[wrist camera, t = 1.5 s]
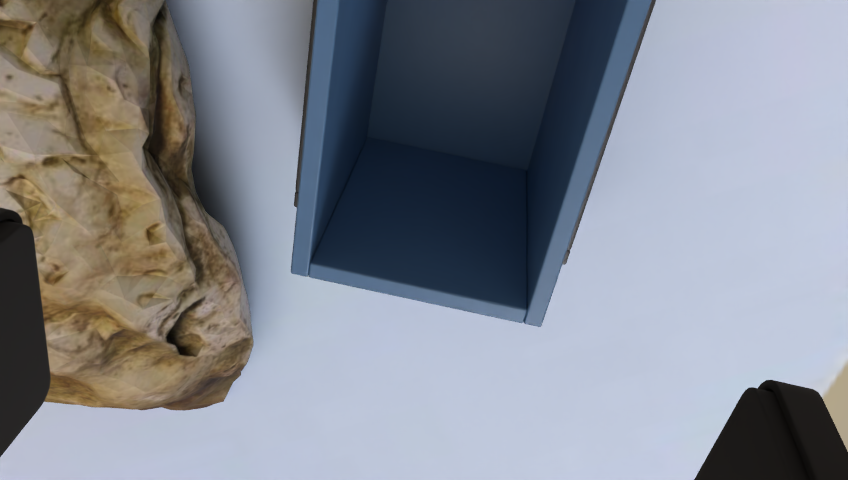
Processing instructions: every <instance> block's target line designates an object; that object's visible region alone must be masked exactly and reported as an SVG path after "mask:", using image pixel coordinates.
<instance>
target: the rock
mask: <svg viewBox="0 0 848 480" xmlns="http://www.w3.org/2000/svg"><path fill="white" fill-rule="evenodd" d="M195 121H196V114H195V108H194V102H193V96H192V87H191V78H190V70H189V65H188V62H187V59H186V56H185V54H184V51H183V48H182V46H181V43H180V40H179V37H178V35H177V32H176V29H175V26H174V23H173V20H172V18H171V15H170V12H169V9H168V6H167V4H166V0H0V208H5V209H9V210H13V211H15V212H17V213H18V214H19V215H20V217H21V218H22V221H23V224H24V225H27V226H29V227H30V228H31V229H32V231H33V235H34V242H35V250H36V258H37V267H38V275H39V283H40V292H41V300H42V308H43V317H44V325H45V333H46V342H47V350H48V358H49V367H50V375H51V382H50V388H49V391H48V394H47V396H46V398H45V402H54V403H63V404H78V405H84V406H89V407H110V408H125V409H139V410H147V409H153V408H159V407H163V408H167V409H170V410H191V409H198V408H204V407H208V406H210V405H212V404H215V403H219V402H223V401H224V399H225V397H226V395H227V393H228V391H229V389H230V387H231V385H232V383H233V382H234V381H235V380H236V379H237V378H238V377H239V376H240V375H241V371H242V369H243V368H244V366H245V365H246V364H247V362H248V359H249V356H250V353H251V350H252V347H253V336H252V328H251V319H250V310H249V304H248V297H247V293H246V290H245V287H244V284H243V280H242V274H241V269H240V266H239V262H238V259H237V256H236V253H235V250H234V247H233V245H232V242H231V240H230V238H229V236H228V234H227V232H226V230H225V228H224V227H223V226H222V225H221V224H220V223H219V222H217V221H216V220H215V219H214V218H212V217H211V216H210V215H209V214H208V213H206V211H205V209H204V207H203V206H202V204H201V202H200V200H199V198H198V196H197V194H196V190H195V185H194V180H193V174H192V169H191V167H192V160H193V153H194V143H195Z"/></svg>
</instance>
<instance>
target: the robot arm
mask: <svg viewBox="0 0 848 480" xmlns="http://www.w3.org/2000/svg"><path fill="white" fill-rule="evenodd" d="M50 382H51V375H50V367H49V358H48V350H47V342H46V333H45V325H44V317H43V308H42V300H41V292H40V283H39V275H38V267H37V258H36V250H35V242H34V235H33V231H32V229H31V228H30V227H29V226H27V225H24V224H23V221H22V218H21V217H20V215H19V214H18V213H17V212H15V211H13V210H9V209H5V208H0V457H1V455H2V454H3V453H4V452H5V450H6V449H7V448H8V447H9V445H10V444H11V443H12V442H13V440H14V439H15V438H16V437H17V435H18V434H19V433H20V432H21V430H22V429H23V428H24V427H25V425H26V424H27V423H28V422H29V420H30V419H31V418H32V417H33V415H34V414H35V413H36V412H37V410H38V409H39V408H40V407H41V405H42V404H43V402H44V401H45V398H46V396H47V394H48V391H49V388H50ZM694 480H848V452H847V449H846V447H845V445H844V443H843V441H842V439H841V437H840V435H839V433H838V431H837V429H836V427H835V424H834V422H833V420H832V418H831V416H830V414H829V412H828V410H827V408H826V405H825V404H824V401H823V399H822V397H821V396H820V395H819V393H818V392H817V391H815V390H813V389H809V388H805V387H800V386H796V385H791V384H787V383H782V382H778V381H773V380H766V381H765V382H763V383H762V384H761V385H760V386H759V387H758V389H757V388H748V389H747V390H745V392H744V393H743V394H742V396H741V398H740V400H739V401H738V403H737V405H736V407H735V409H734V410H733V412H732V414H731V416H730V417H729V419H728V421H727V423H726V424H725V426H724V428H723V430H722V432H721V433H720V435H719V437H718V439H717V440H716V442H715V444H714V446H713V448H712V449H711V451H710V453H709V455H708V456H707V458H706V460H705V462H704V463H703V465H702V467H701V469H700V471H699V472H698V474H697V476H696V478H695V479H694Z"/></svg>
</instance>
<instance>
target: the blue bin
mask: <svg viewBox="0 0 848 480" xmlns="http://www.w3.org/2000/svg"><path fill="white" fill-rule="evenodd" d="M651 1H652V0H317V8H316V18H315V29H314V39H313V49H312V59H311V70H310V80H309V90H308V100H307V110H306V121H305V131H304V141H303V151H302V162H301V172H300V182H299V192H298V203H297V213H296V223H295V233H294V244H293V254H292V264H291V273H292V274H297V275H301V276H308V275H309V277H311V278H315V279H320V280H324V281H329V282H334V283H338V284H343V285H348V286H352V287H357V288H362V289H366V290H371V291H375V292H380V293H385V294H389V295H394V296H399V297H403V298H408V299H413V300H417V301H422V302H426V303H431V304H436V305H440V306H445V307H450V308H454V309H459V310H464V311H468V312H473V313H477V314H482V315H487V316H491V317H496V318H501V319H505V320H510V321H515V322H519V323H523V321H524V323H525V324H528V325H533V326H538V327H540V326H541V325H542V322H543V320H544V317H545V314H546V311H547V308H548V305H549V302H550V299H551V296H552V293H553V290H554V287H555V284H556V281H557V278H558V275H559V272H560V269H561V266H562V263H563V260H564V258H565V255H566V252H567V249H568V246H569V243H570V240H571V237H572V234H573V231H574V228H575V225H576V222H577V219H578V216H579V213H580V210H581V207H582V204H583V201H584V199H585V196H586V193H587V190H588V187H589V184H590V181H591V178H592V175H593V172H594V169H595V166H596V163H597V160H598V157H599V154H600V151H601V148H602V145H603V142H604V139H605V137H606V134H607V131H608V128H609V125H610V122H611V119H612V116H613V113H614V110H615V107H616V104H617V101H618V98H619V95H620V92H621V89H622V86H623V83H624V80H625V77H626V75H627V72H628V69H629V66H630V63H631V60H632V57H633V54H634V51H635V48H636V45H637V42H638V39H639V36H640V33H641V30H642V27H643V24H644V21H645V18H646V15H647V13H648V10H649V7H650V4H651Z"/></svg>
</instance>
